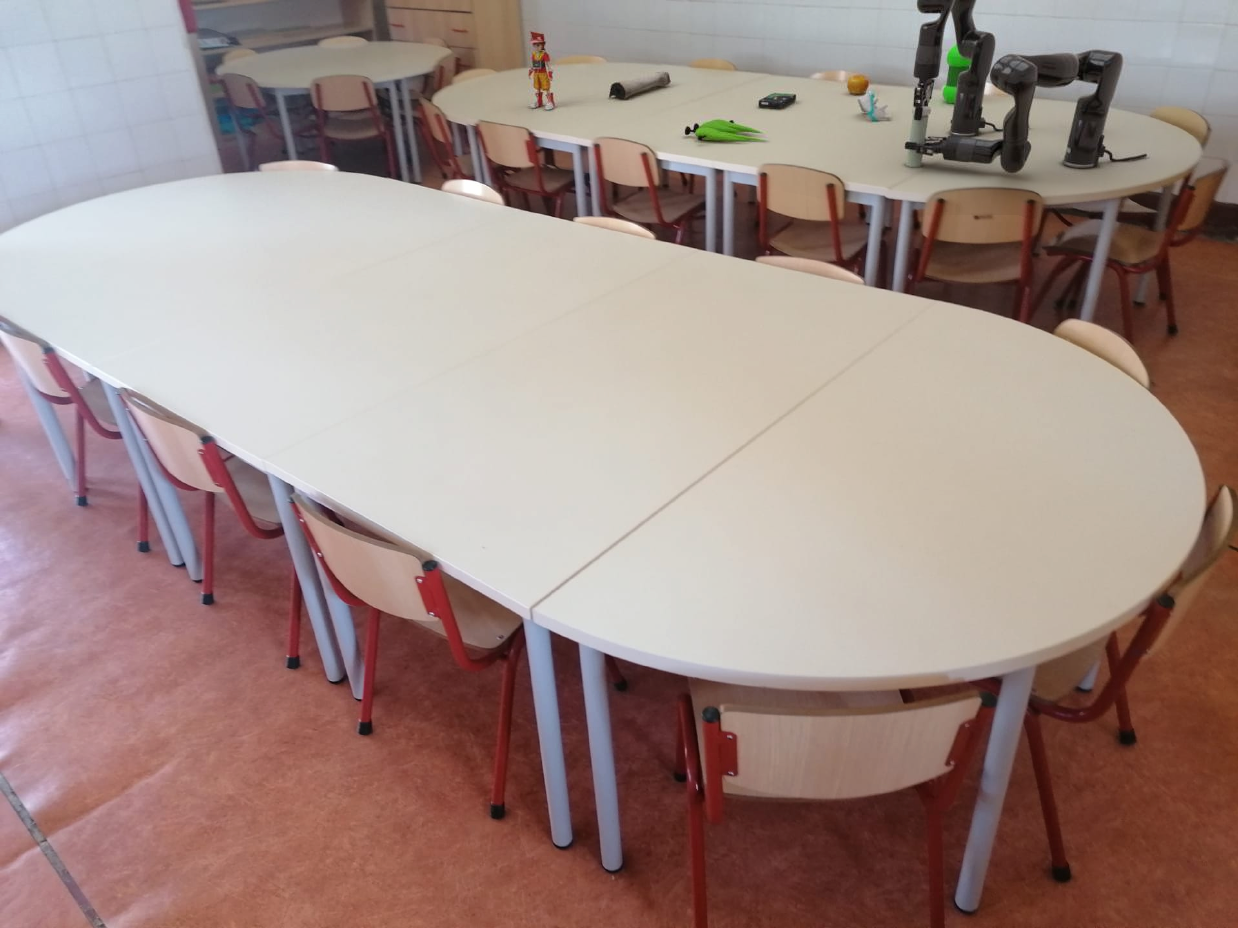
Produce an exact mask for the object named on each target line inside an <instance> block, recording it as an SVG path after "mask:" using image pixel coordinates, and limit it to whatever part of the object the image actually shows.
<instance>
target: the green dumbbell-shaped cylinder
mask: <svg viewBox="0 0 1238 928" xmlns="http://www.w3.org/2000/svg"><path fill="white" fill-rule="evenodd" d="M971 61H972V60H967V59H964V58H962V57H961V56H960V55H959V52H958V49H957V43H956V44H954V45H953V46H952V47H951V48H950V49H949V50H948V52H947V54H946V63H947V64H948V69H947V70H948V71H947V76H946V77H947V78H946V84H945V85H944V87H943V90H942V97H943V99H944V100H945V101H946V102H947V103H948V104H954V103H955V96H956V90H957V83H958V77H959V74H960V73H961V72H963V71H967V70H969V68H970V65H971Z"/></svg>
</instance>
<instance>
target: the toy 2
mask: <svg viewBox="0 0 1238 928" xmlns="http://www.w3.org/2000/svg"><path fill="white" fill-rule="evenodd" d="M692 128H693V129H691V127H690V126H689V125H687V126H686V127H685V129H684V135H685V136H689V135H690V134H691V133H694V136H695V137H697V140H698V141H699V142H701V141H703V140H707V141H729V142H730V141H731V142H742V141H743V142H748V141H755V142H756V141H758V142H761V141H763V142H766V141H767V140H766V139H765V140H764V139H761V138H756V137H751V136H746V135H741V133H752V134H762V135H763V134H764V132H762V131H760V130H758V129H754V128H752V127H750V126H749V127H748V126H745V125H741V124H737V123H735V121H734V120H733V119H730V120H729V121H727V120H724V119H712V120H709V121H707V122H703V123H702V124H701V125H700V124H699V123H696V122H695V123H694V125H693V127H692Z"/></svg>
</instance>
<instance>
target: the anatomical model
mask: <svg viewBox="0 0 1238 928" xmlns="http://www.w3.org/2000/svg"><path fill="white" fill-rule="evenodd" d="M875 98H876V95H875V93H874V92H872V91H871V90H869V89H867V90H866V93H865V94H864V95H861V96H858V98H857V102H858V104H859V107H860V110H861V112H863V113H867V114H868V116H869V118H870V119H871V121H873V122H876V121H877V122H878V121H879V120H890V119H891V118H892V115H891V114H887V113H885V111H886V109H887V108H888V104H885V105H882V106H877V105H876V104H877V103H878V101H879V98H876V99H875Z"/></svg>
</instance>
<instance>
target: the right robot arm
mask: <svg viewBox="0 0 1238 928" xmlns="http://www.w3.org/2000/svg"><path fill="white" fill-rule="evenodd" d="M1123 66H1124V56H1123V55H1122V53H1120V52H1118V51H1111V50H1105V49H1090V50H1086V51H1082V52H1078V53H1073V52H1058V53H1057V52H1055V53H1047V54H1045V53H1044V54H1035V55H1034V54H1033V55H1025V54H1018V53H1009V54H1006V55H1003V56H1002V57H1000V58H998V60H996V61H995V63H993V66H991V69H990V72H989V79H990V82H991V84H992V86H994V87H995V88H996V89H998V90H1000V91H1002V92H1004V93H1005V94H1007V95H1010V96H1012V97H1013V101H1014V106H1013V107H1011V109H1009V111H1008V112H1007V113H1006V114H1005V116H1004V118H1003V122H1002V129H1003V131H1002V138H999V139H993V140H992V139H983V138H976V137H973V136H955V135H952V134H949V135H948V136H947V137H946V136H927V137H925V143H916V142H909V141H906V142H905V143H904V149H905V150H908V149H909V150H916V153H919V154H923V156H928V157H933V156H934V155H939V154H941V155H942V159H943V160H944V161H949V162H960V163H975V164H982V165H990V164H992V163H994V161H995V160H996V159H997V158H998V157H1000V158H999V163H1000V164H999V165H1000V167H1001V168H1002V170H1003V171H1004V172H1006V173H1007V174H1017V173H1019V172H1020V171H1022V170H1023V169H1024V167H1025V165H1026V163H1027V160H1028V158H1029V155H1030V153H1031V151H1032V144H1031V142H1030V140H1029V132H1030V114H1031V108H1032V105H1033V101H1034V97H1035V93H1036V88H1037V87H1038V88H1042V89H1056V88H1057V89H1058V88H1063V87H1067V86H1069V85H1071V84H1072V83H1073V82H1074V81H1077V82H1083V83H1087V84H1094V85H1097V86H1096V89H1095V91H1094V92H1092V93H1087V94H1083V95H1081V96H1079V97H1078V98H1077V101H1076V106H1075V110H1074V114H1073V119H1072V122H1071V127H1070V132H1069V135H1068V140H1067V146H1066V148H1065V153H1064V157H1063V161H1062V165H1064V166H1066V167H1069V168H1073V169H1089V168H1090V169H1091V168H1097V167H1098V164H1099V160H1100V158H1104V157H1105V154H1107V155H1108V156H1109V160H1110V161H1111V162H1113V163H1114V162H1115V163H1117V162H1118V163H1119V162H1126V161H1127V162H1128V161H1133V160H1139V159H1141V158H1142V159H1143V158H1146V157H1147V156H1148V154H1147V153H1143V154H1140V155H1136V156H1130V157H1124V158H1113V156H1114V155H1113V152H1112V151H1110V150H1108V149H1106V146H1105V144H1104V141H1105V134H1104V130H1105V126H1106V123H1107V119H1108V114H1109V112H1110V111H1109V110H1110V106H1111V103H1112V101H1113V99H1114V96H1115V93H1116V90H1117V87H1118V83H1119V80H1120V77H1121V74H1122V71H1123ZM920 148H923V149H920Z"/></svg>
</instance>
